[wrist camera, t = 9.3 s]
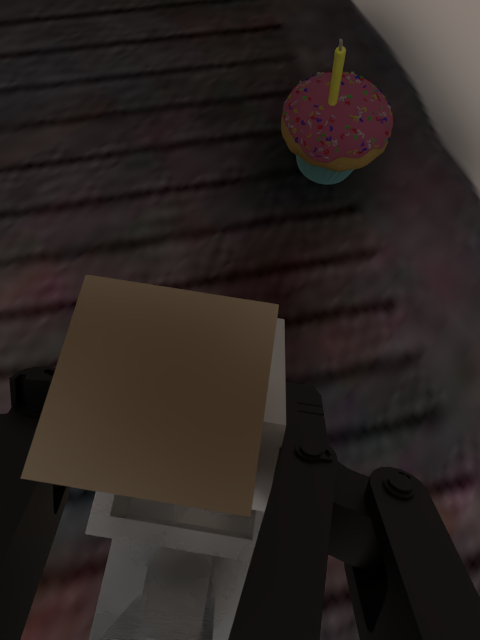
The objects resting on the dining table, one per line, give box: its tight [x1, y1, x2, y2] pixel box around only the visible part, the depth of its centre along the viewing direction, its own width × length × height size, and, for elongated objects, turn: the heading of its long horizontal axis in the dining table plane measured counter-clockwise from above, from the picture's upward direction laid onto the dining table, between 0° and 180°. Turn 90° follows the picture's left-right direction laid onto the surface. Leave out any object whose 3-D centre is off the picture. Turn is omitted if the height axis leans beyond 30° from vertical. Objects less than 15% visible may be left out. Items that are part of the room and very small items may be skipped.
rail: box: [21, 275, 279, 517], centre depth 14 cm, size 4×4×14 cm
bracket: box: [85, 491, 264, 640], centre depth 22 cm, size 14×9×12 cm, turn 171°
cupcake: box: [281, 39, 394, 185], centre depth 33 cm, size 9×8×12 cm
